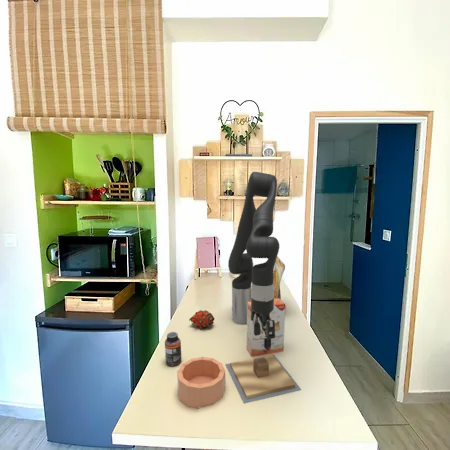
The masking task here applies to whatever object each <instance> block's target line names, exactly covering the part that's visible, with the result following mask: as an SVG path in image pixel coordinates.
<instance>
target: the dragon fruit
mask: <svg viewBox="0 0 450 450" xmlns="http://www.w3.org/2000/svg"><path fill="white" fill-rule="evenodd" d="M188 321H190V322H191V325H192V326H193V327H199V329H200V330H201V329H204V328H206V329H207V328H208V327H210V326H212V325H213V324H214V321H215V316H214V315H213V314H212V313H211V312H210V311H208V310H206V309H205V310H201V309H200V310H198V311H196V312H195V313H194V314H193V315H192V316H191V317H190V318H189V320H188Z"/></svg>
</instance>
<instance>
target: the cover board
mask: <svg viewBox="0 0 450 450" xmlns="http://www.w3.org/2000/svg"><path fill="white" fill-rule="evenodd" d="M273 355H274V354H271V355H264V356H261V357H260V356H259V357H256V358H250V359H249V358H248V359H245V360H244V359H243V360H240V361H239V360H238V361H234V362H230V363H229V364H230V367H231V369H232V371H233V373H234V375H235V377H236V379H237V381H238V383H239V385H240V387H241V389H242V391H243V393H244V395H245V397H246V399H249V398H253V397H258V396H262V395H266V394H270V393H275V392H279V391H283V390H287V389H292V388H295V383H294V382H293V381H292V379H291V378H290V377H289V376H288V374H287V373H286V372H285V370H284V369H283V368H282V367H281V365H280V364H279V363H278V361H277V360H276V359H275V358H274V356H273Z"/></svg>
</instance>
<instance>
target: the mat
mask: <svg viewBox="0 0 450 450" xmlns="http://www.w3.org/2000/svg"><path fill="white" fill-rule="evenodd" d="M272 355H273V356H274V358H275V359H276V360H277V361H278V363H279V364H280V365H281V367H282V368H283V369H284V370H285V372H286V373H287V374H288V376H289V377H290V378H291V379H292V381H293V382H294V383H295V388H292V389H287V390H283V391H279V392H275V393H270V394H266V395H262V396H258V397H253V398H249V399H246V397H245V395H244V393H243V391H242V389H241V387H240V385H239V383H238V381H237V379H236V377H235V375H234V373H233V371H232V369H231V367H230V363H225V367H226V369H227V372H228V373H229V376H230V377H231V380H232V382H233V384H234V386H235V389H236V390H237V392H238V394H239V397H240V399H241V401H242V403H243V404H248V403H254V402H257V401H260V400H265V399H269V398H274V397H278V396H283V395H286V394H290V393H295V392H299V391H302V388H301V387H300V386H299V384H298V382H296V381H295V379H294V378H293V377H292V375H291V373H289V372H288V371H287V369H286V368H285V367H284V365H283V364H282V363H281V362H280V360H279V359H278V357H277V356H276V355H275V354H272Z"/></svg>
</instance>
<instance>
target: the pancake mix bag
mask: <svg viewBox="0 0 450 450" xmlns="http://www.w3.org/2000/svg"><path fill="white" fill-rule="evenodd" d="M285 269H286V265H285V263H284V262H283V261H282V260H281V258H279V255H277V258H276V261H275V265H274V272H273V286H274V299H277V298H279V299H280V300H281V301H282V298H281V297H282V295H281V280H282V278H283V275H284V272H285Z"/></svg>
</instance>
